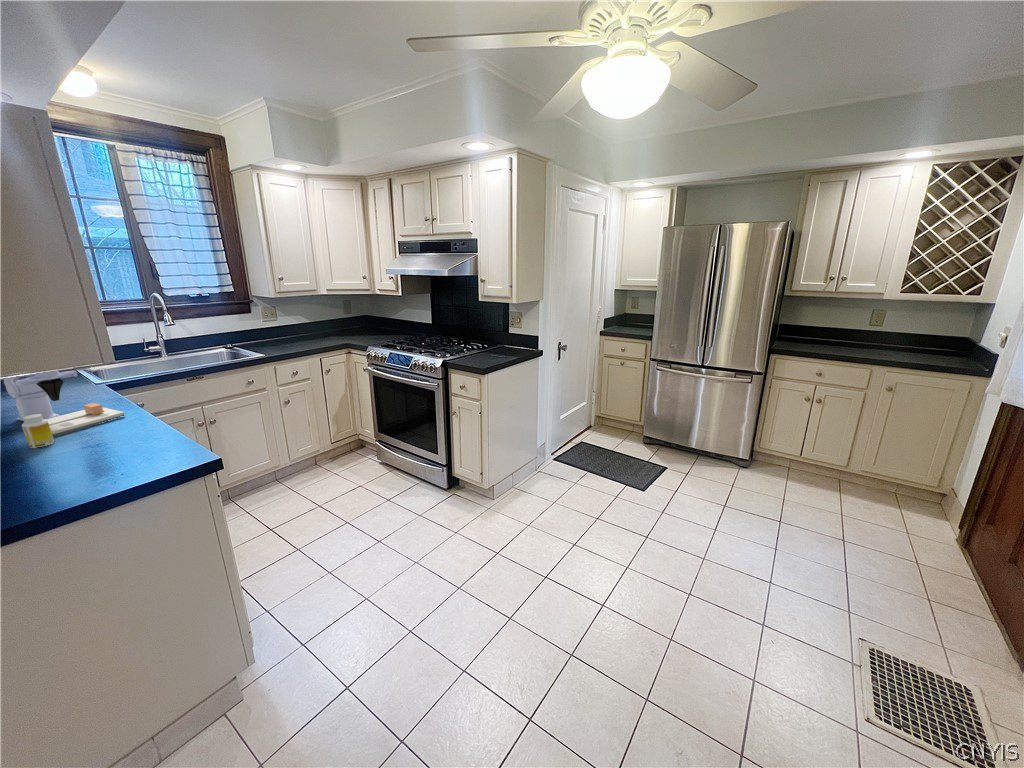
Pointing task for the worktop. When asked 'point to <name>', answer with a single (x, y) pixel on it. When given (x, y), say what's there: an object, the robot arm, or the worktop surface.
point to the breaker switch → (93, 408)
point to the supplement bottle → (37, 431)
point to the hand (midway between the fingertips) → (55, 400)
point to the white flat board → (80, 420)
